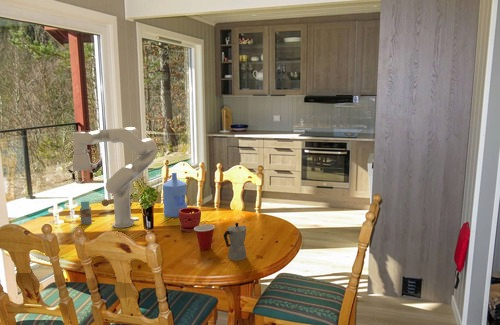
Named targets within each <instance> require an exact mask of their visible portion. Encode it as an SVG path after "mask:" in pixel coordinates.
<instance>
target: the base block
mask: <svg viewBox="0 0 500 325" xmlns="http://www.w3.org/2000/svg"><path fill="white" fill-rule="evenodd" d="M80 223H81V224H86V225H92V223H93V219H92V215H91V216H90V217H81V216H80Z"/></svg>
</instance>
